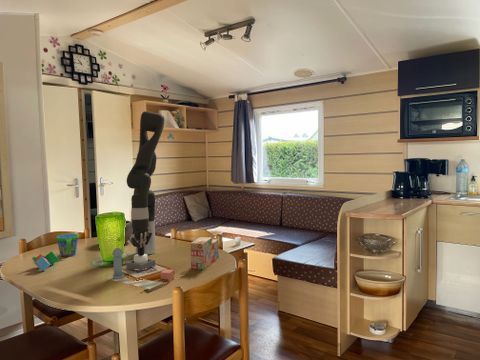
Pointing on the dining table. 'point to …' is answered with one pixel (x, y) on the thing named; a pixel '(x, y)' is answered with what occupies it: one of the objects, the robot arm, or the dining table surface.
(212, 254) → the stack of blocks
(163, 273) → the die
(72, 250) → the snack cup
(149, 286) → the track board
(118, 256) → the pawn
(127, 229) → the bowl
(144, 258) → the white rounded block
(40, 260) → the building blocks
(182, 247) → the dining table surface
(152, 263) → the popper housing
